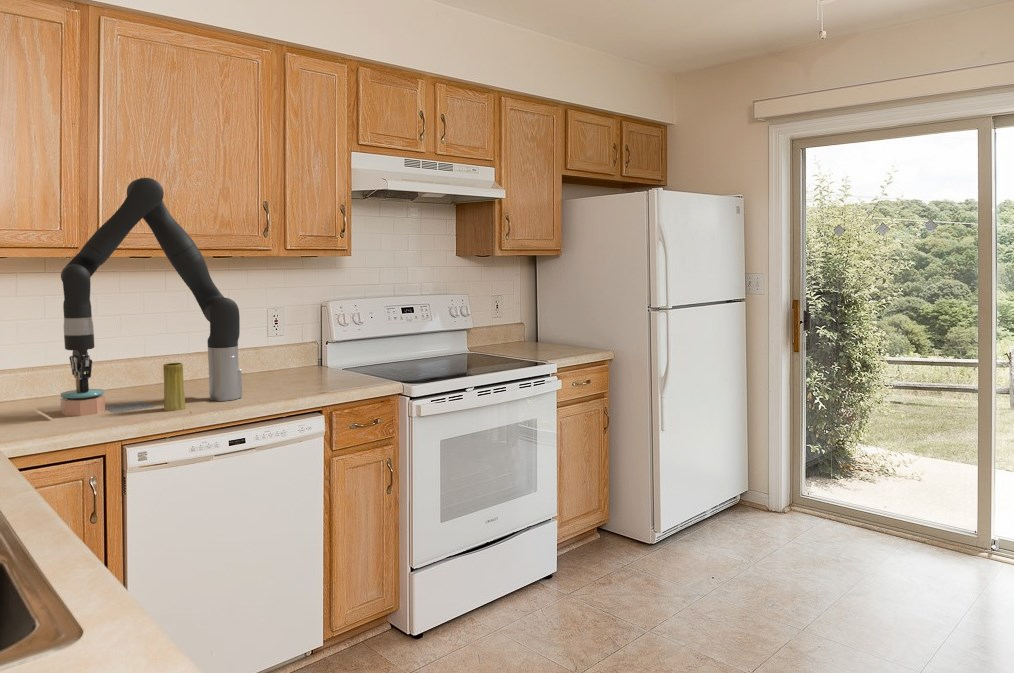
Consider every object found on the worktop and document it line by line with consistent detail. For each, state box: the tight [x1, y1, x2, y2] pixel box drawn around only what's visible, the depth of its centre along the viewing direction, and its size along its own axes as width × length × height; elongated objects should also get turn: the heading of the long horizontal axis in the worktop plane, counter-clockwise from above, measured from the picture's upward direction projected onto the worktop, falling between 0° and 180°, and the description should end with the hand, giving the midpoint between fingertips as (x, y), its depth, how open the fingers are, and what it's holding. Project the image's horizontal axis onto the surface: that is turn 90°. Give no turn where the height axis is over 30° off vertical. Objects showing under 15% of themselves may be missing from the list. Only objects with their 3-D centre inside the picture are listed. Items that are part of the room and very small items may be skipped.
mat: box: [105, 401, 156, 413], centre depth 223 cm, size 12×12×1 cm
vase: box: [162, 362, 187, 412], centre depth 220 cm, size 6×6×14 cm
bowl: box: [60, 394, 106, 417], centre depth 216 cm, size 10×10×5 cm
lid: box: [60, 375, 105, 398], centre depth 215 cm, size 11×11×6 cm
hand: (82, 391), depth 215 cm, fingers closed on lid, 3 cm apart
